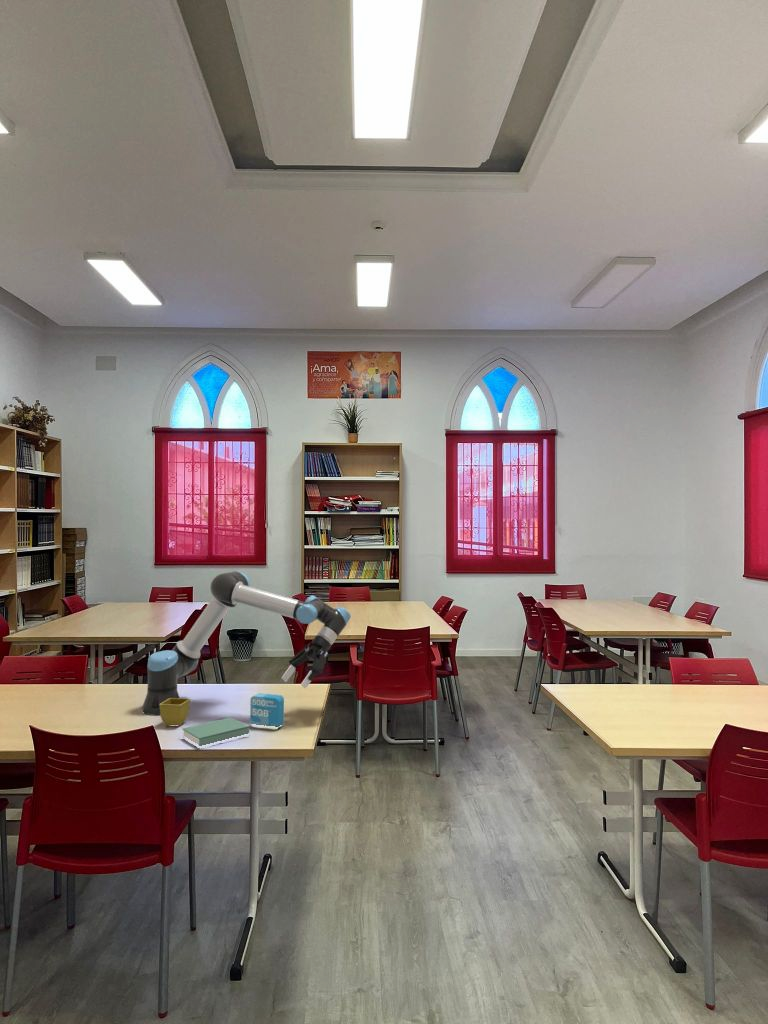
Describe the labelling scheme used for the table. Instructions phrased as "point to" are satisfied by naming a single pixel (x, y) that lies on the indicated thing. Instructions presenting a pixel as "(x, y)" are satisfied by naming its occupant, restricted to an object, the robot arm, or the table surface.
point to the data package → (267, 710)
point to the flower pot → (174, 711)
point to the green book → (215, 731)
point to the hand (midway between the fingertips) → (293, 683)
